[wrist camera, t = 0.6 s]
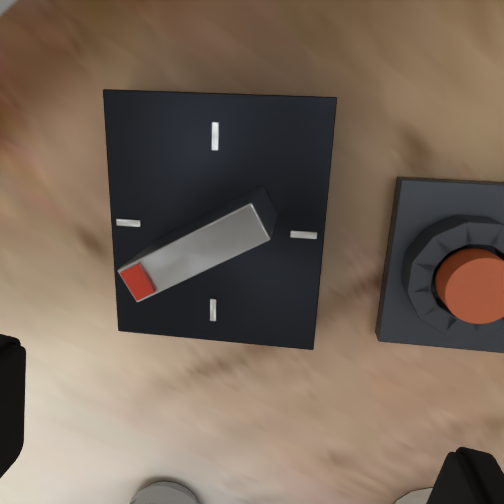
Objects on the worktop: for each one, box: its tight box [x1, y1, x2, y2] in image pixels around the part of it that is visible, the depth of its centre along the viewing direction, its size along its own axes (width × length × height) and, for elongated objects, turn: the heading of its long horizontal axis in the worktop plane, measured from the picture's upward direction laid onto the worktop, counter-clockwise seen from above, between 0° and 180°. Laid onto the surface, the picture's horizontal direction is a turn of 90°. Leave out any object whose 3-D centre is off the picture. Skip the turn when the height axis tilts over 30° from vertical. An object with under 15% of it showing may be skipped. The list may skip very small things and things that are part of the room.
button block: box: [375, 177, 504, 353], centre depth 24 cm, size 10×8×3 cm
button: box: [435, 248, 504, 324], centre depth 22 cm, size 4×4×2 cm
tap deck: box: [103, 89, 337, 350], centre depth 24 cm, size 14×12×3 cm
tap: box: [118, 186, 278, 302], centre depth 21 cm, size 7×2×5 cm, turn 118°
